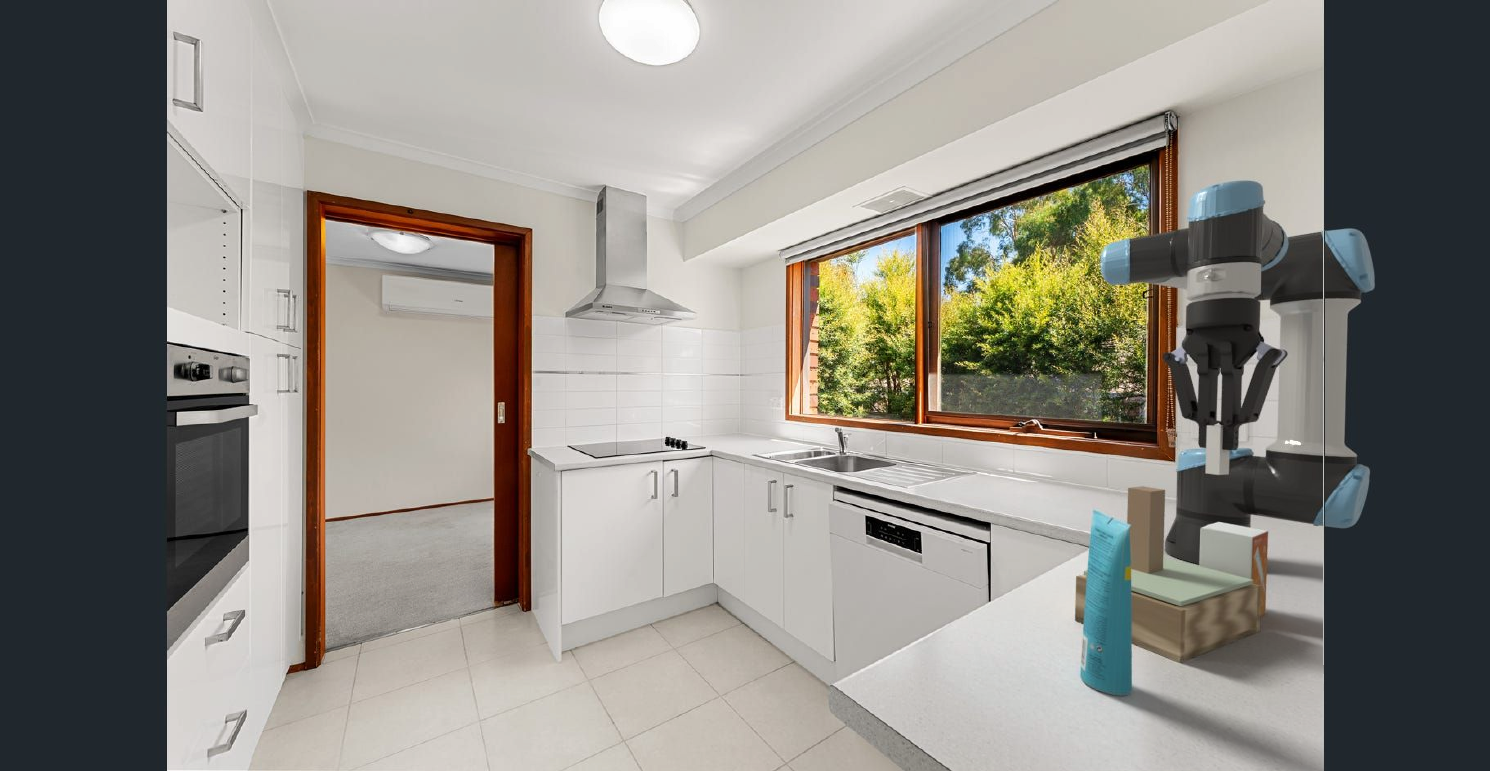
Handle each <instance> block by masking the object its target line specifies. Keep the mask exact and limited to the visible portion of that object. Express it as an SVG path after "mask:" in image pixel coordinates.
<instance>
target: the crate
mask: <svg viewBox="0 0 1490 771" xmlns="http://www.w3.org/2000/svg"><path fill="white" fill-rule="evenodd" d="M1086 583H1087V576H1085V575H1084V574H1081V575H1075V600H1074V601H1075V606H1074V607H1075V609H1074V621H1075V622H1077V623H1080V624H1082V625H1084V612H1085V597H1086ZM1260 599H1261V586H1260V585H1256V584H1252V585H1249V586H1245V587H1242V588H1239V589H1236V590H1232V591H1229V592H1226V593H1223V594H1219V595H1216V596H1213V597H1210V598H1206V599H1203V600H1200V601H1197V602H1193V603H1190V604H1187V605H1184V606H1178V605H1175V604H1172V603H1169V602H1166V601H1163V600H1160V599H1156V598H1153V597H1150V596H1147V595H1144V594H1141V593H1138V592H1135V591H1132V590H1131V613H1132V645H1135V646H1138V647H1139V648H1142V649H1144V650H1148V651H1149V652H1152V653H1154V654H1157V655H1159V656H1162V657H1165V658H1167V659H1169V660H1172V661H1174V662H1177V663H1179V664H1180V663H1184V662H1186V661H1189V660H1190V659H1193V658H1196V657H1199V656H1201V655H1203V654H1206V653H1208V652H1211V651H1214V650H1216V649H1218V648H1220V647H1223V646H1226V645H1229V644H1230V643H1234V642H1236V641H1239V640H1241V639H1243V638H1246V637H1248V636H1251V635H1253V634H1256V633H1259V632H1260V631H1261V627H1260V626H1261V616H1260Z"/></svg>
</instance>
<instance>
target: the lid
mask: <svg viewBox="0 0 1490 771" xmlns="http://www.w3.org/2000/svg"><path fill="white" fill-rule="evenodd" d="M1165 511H1166V489H1163V488H1156V487H1149V486H1142V485H1141V486H1134V487H1127V513H1126V514H1127V517H1126V522H1127V524H1129V525H1131V527H1130V548H1131V590H1132V591H1135V592H1138V593H1141V594H1144V595H1147V596H1150V597H1153V598H1156V599H1160V600H1163V601H1166V602H1169V603H1172V604H1175V605H1178V606H1184V605H1187V604H1190V603H1193V602H1197V601H1200V600H1203V599H1206V598H1210V597H1213V596H1216V595H1219V594H1223V593H1226V592H1229V591H1232V590H1236V589H1239V588H1242V587H1245V586H1249V585H1252V584H1253V580H1252V579H1248V578H1244V577H1240V576H1236V575H1232V574H1228V573H1225V572H1221V571H1217V570H1213V569H1209V568H1205V567H1201V566H1199V565H1196V564H1194V563H1193V564H1192V563H1191V562H1187V561H1186V562H1185V561H1181V560H1178V559H1173V558H1170V557H1166V556H1164V554H1165V553H1164V552H1165V516H1166V515H1165V514H1166V513H1165ZM1083 575H1085V576H1087V570H1084V571H1083Z"/></svg>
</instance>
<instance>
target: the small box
mask: <svg viewBox="0 0 1490 771" xmlns="http://www.w3.org/2000/svg"><path fill="white" fill-rule="evenodd" d="M1268 541H1269V530H1265V529H1259V528H1254V527H1251V528H1249V527H1244V526H1238V525H1233V524H1227V523H1222V522H1217V523H1214V524H1209V525H1207V526H1205V527H1202V528H1201V530H1200V561H1199V564H1198V566H1201V567H1205V568H1209V569H1213V570H1217V571H1221V572H1225V573H1228V574H1232V575H1236V576H1240V577H1244V578H1248V579H1252V580H1253V584H1256V585H1260V586H1261V599H1260V617H1262V616H1264V615H1265V614H1266V608H1267V605H1266V603H1267V601H1266V600H1267V578H1268V577H1267V576H1268V575H1267V573H1268V546H1269V544H1268Z"/></svg>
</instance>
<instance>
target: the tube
mask: <svg viewBox="0 0 1490 771" xmlns="http://www.w3.org/2000/svg"><path fill="white" fill-rule="evenodd" d="M1130 527H1131V525H1129V524H1127V523H1126V522H1125V521H1121V520H1119V519H1117V518H1115V517H1113V516H1110V515H1108V514H1106V513H1105V512H1101V511H1099V510H1097V509H1095V508H1094V509H1092V519H1091V527H1090V536H1089V544H1088V546H1089V547H1088V559H1087V560H1088V561H1087V583H1086V597H1085V612H1084V624H1083V631H1082V642H1081V644H1082V645H1081V658H1080V674H1079V675H1080V679H1081V680H1082V682H1083V683H1085V684H1086V685H1087V686H1089V687H1090V688H1093V690H1097V691H1099V692H1103V693H1105V694H1108V695H1109V694H1110V695H1112V696H1113V695H1114V696H1128V695H1131V693H1132V692H1133V691H1132V689H1133V688H1132V687H1133V678H1132V677H1133V667H1132V666H1133V663H1132V662H1133V658H1132V657H1133V655H1132V654H1133V652H1132V647H1133V646H1132V645H1133V644H1132V613H1131V548H1130Z"/></svg>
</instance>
